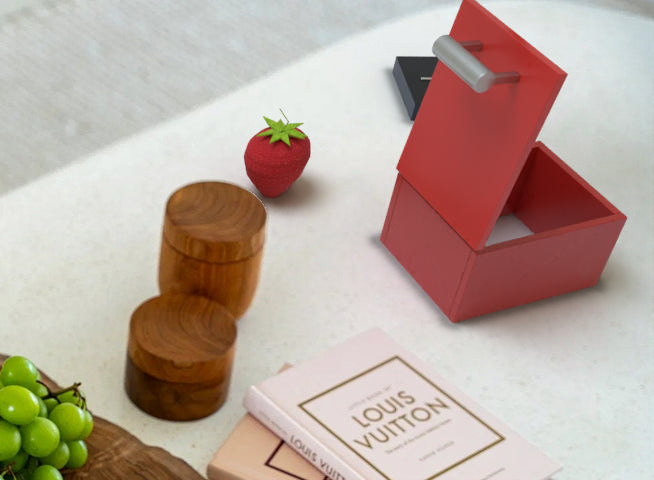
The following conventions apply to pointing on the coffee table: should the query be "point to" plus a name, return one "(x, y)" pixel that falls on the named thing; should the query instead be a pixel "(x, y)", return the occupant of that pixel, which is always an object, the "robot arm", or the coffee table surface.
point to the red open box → (508, 242)
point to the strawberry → (276, 156)
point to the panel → (413, 80)
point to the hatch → (478, 120)
